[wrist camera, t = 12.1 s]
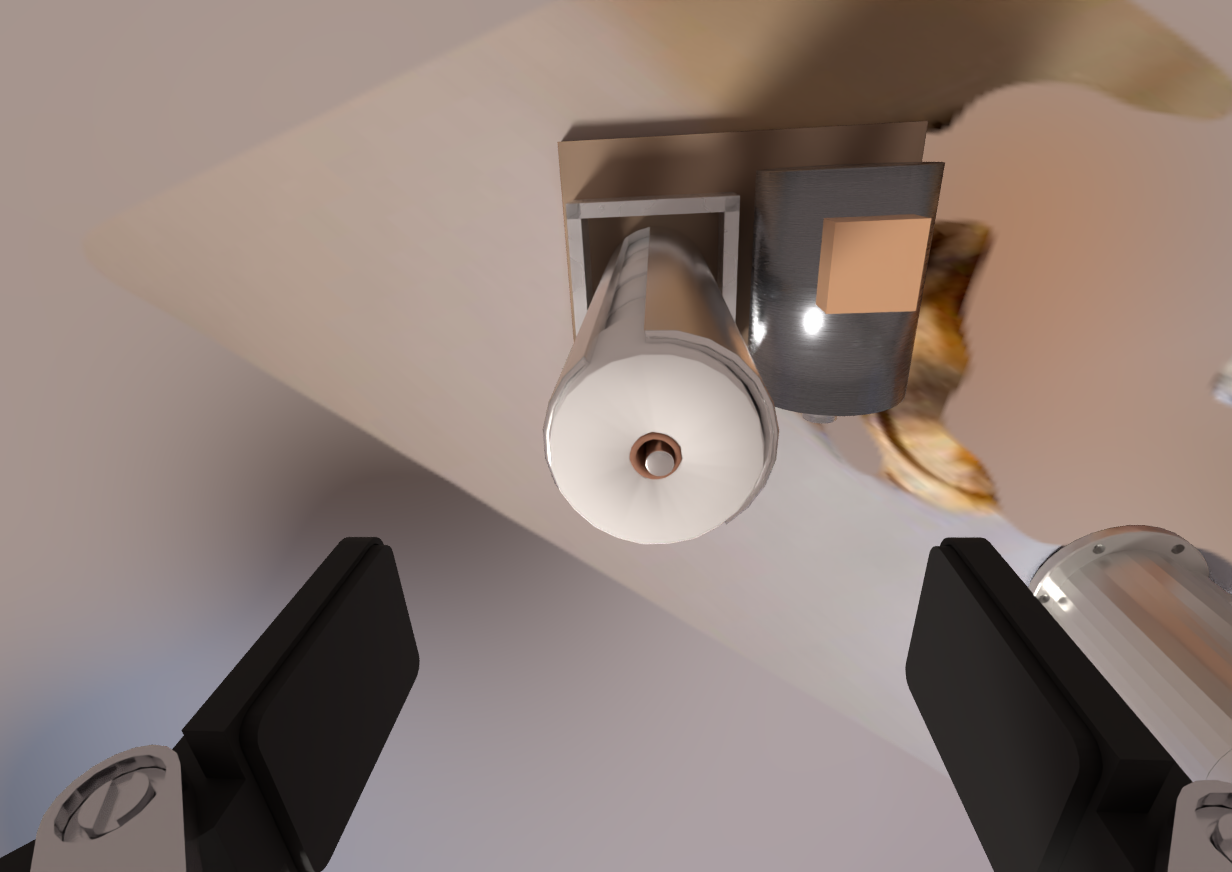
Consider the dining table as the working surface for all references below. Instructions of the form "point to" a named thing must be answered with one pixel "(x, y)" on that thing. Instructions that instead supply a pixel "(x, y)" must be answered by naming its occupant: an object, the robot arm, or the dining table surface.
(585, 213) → the motor mount
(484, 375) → the dining table surface
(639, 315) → the silver tall cylinder
